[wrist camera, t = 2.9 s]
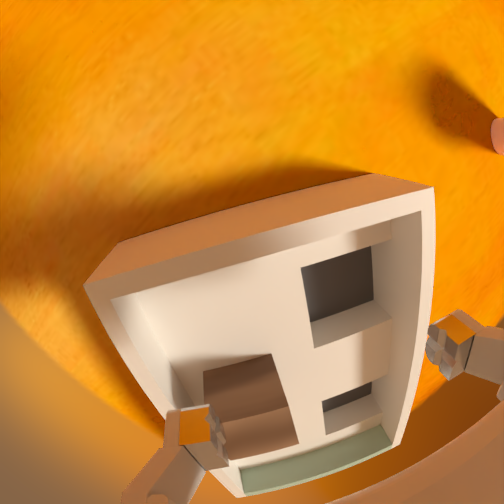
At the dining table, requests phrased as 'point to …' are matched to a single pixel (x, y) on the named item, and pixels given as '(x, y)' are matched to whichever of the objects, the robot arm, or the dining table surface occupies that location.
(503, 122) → the smoothie
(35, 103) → the dining table surface
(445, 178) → the dining table surface
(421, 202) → the box
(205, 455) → the robot arm
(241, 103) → the dining table surface
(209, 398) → the walnut block
